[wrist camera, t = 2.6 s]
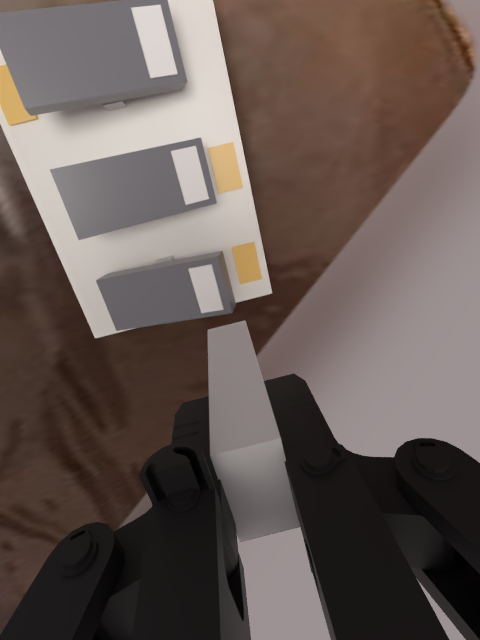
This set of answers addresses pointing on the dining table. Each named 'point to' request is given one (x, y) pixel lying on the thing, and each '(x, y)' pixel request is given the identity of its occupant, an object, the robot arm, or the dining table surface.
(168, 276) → the switch
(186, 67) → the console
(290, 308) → the dining table surface
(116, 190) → the switch
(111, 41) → the switch
